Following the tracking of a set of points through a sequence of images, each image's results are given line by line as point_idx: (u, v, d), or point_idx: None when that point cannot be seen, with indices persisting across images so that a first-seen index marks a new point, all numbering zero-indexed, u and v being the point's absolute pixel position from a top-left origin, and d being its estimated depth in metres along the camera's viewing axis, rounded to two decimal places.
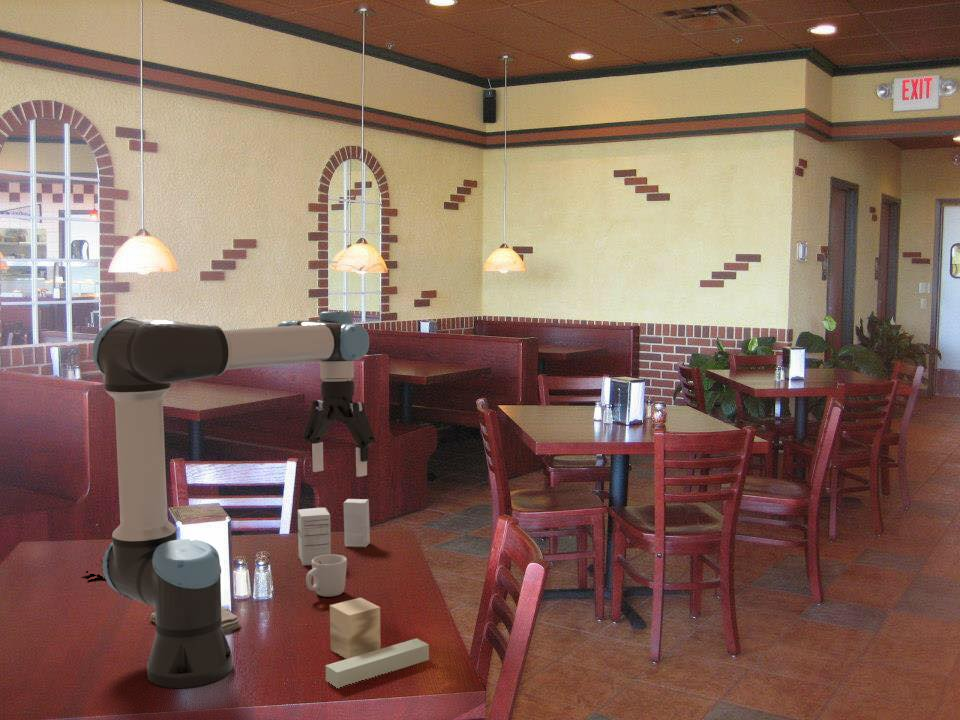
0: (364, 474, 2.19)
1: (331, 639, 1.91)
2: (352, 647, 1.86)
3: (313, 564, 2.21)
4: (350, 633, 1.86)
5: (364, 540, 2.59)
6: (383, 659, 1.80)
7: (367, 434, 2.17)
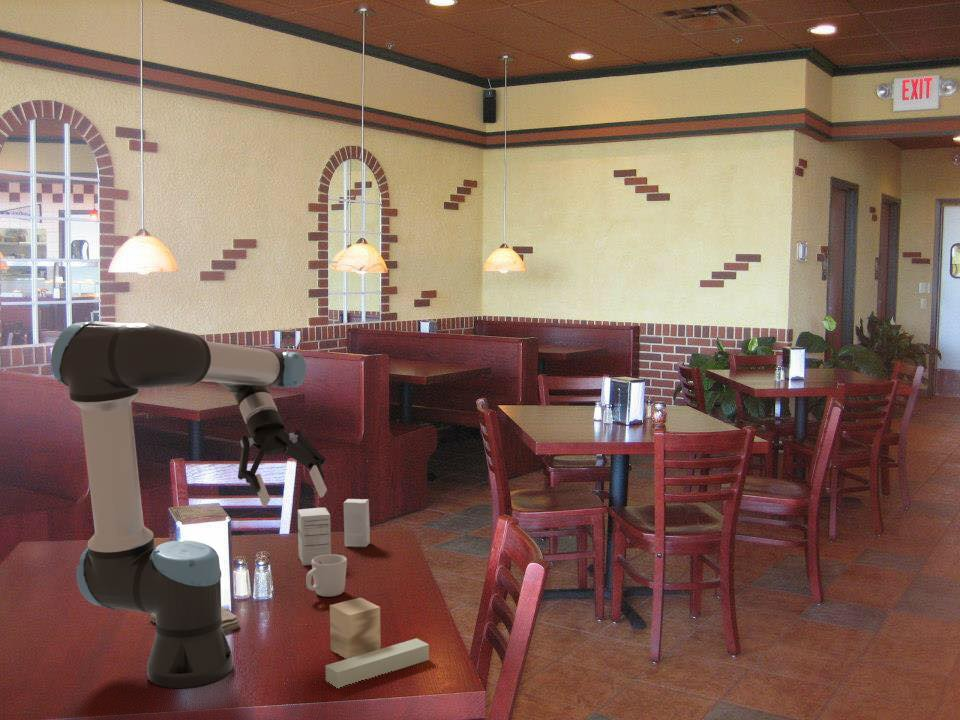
0: None
1: (331, 639, 1.91)
2: (352, 647, 1.86)
3: (313, 564, 2.21)
4: (350, 633, 1.86)
5: (364, 540, 2.59)
6: (383, 659, 1.80)
7: None
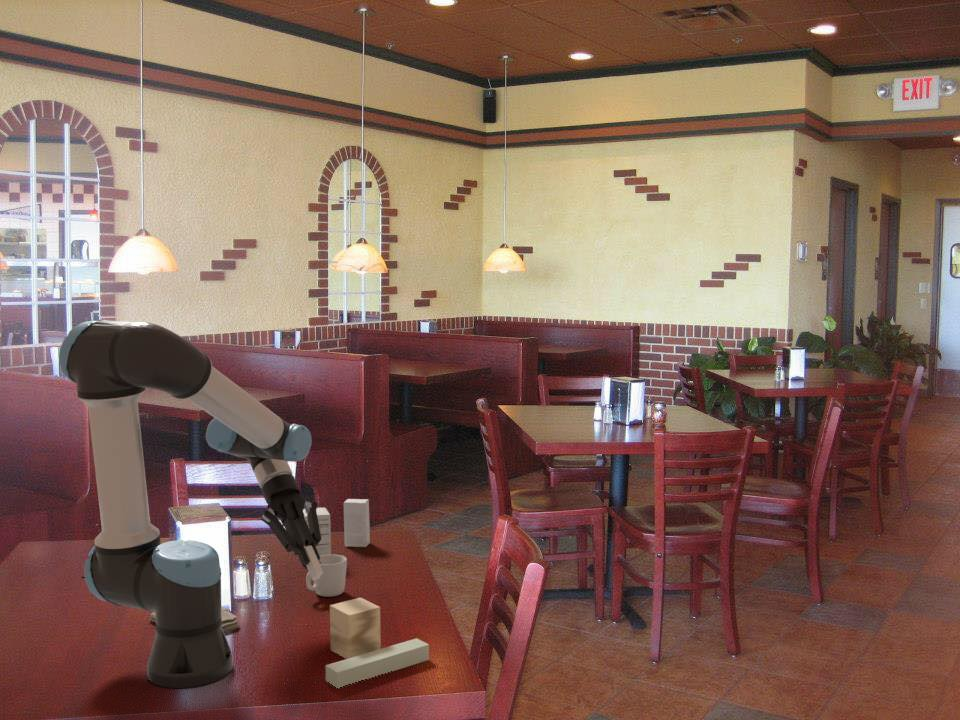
0: None
1: (331, 639, 1.91)
2: (352, 647, 1.86)
3: None
4: (350, 633, 1.86)
5: (364, 540, 2.59)
6: (383, 659, 1.80)
7: None
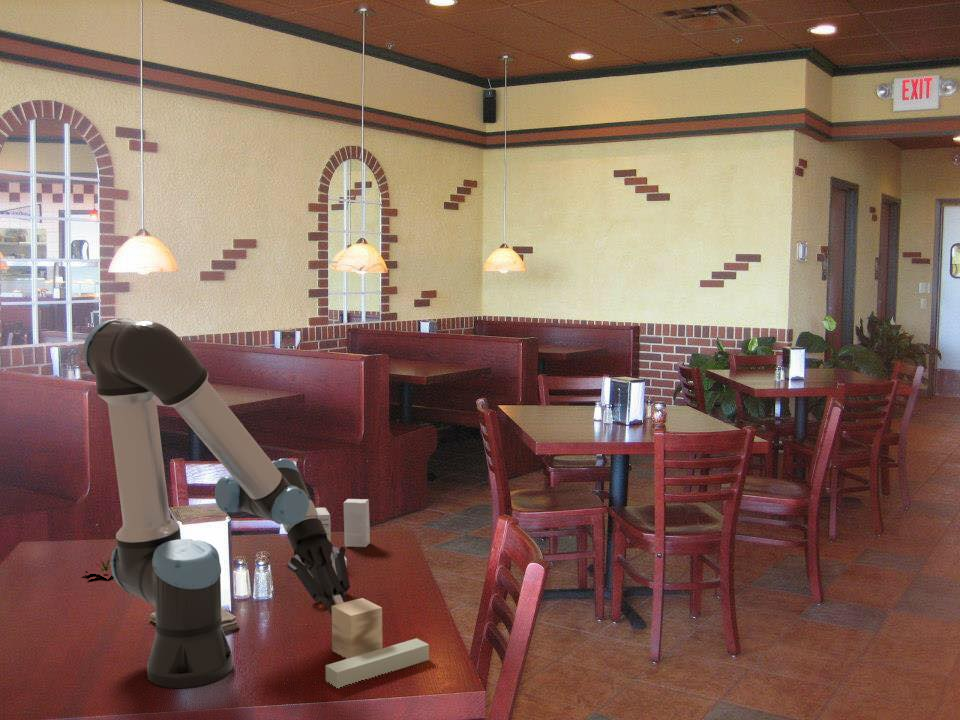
0: None
1: (333, 640, 1.91)
2: (354, 648, 1.86)
3: None
4: (352, 634, 1.85)
5: (364, 540, 2.59)
6: (383, 659, 1.80)
7: None
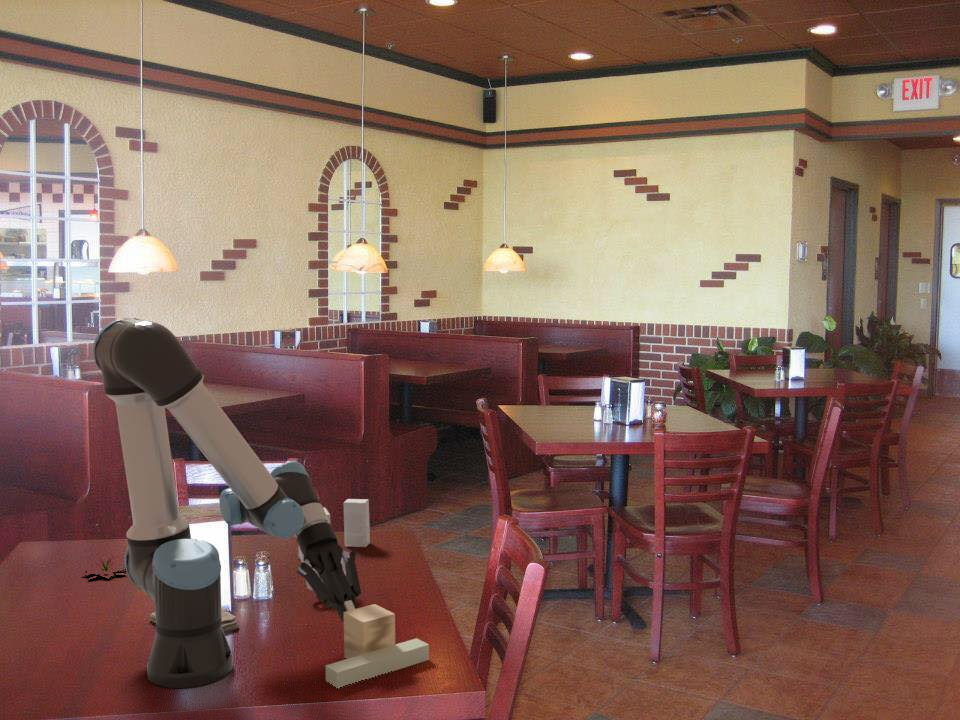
0: None
1: (345, 647, 1.87)
2: None
3: None
4: (365, 641, 1.82)
5: (364, 540, 2.59)
6: (383, 659, 1.80)
7: None
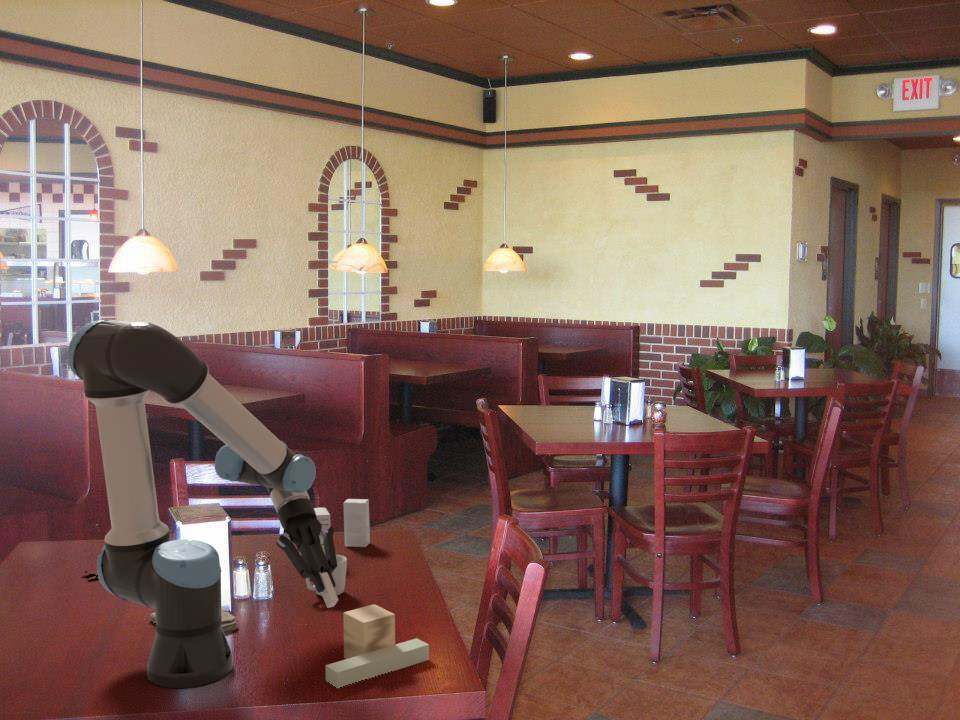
0: None
1: (345, 647, 1.87)
2: None
3: None
4: (365, 641, 1.82)
5: (364, 540, 2.59)
6: (383, 659, 1.80)
7: None
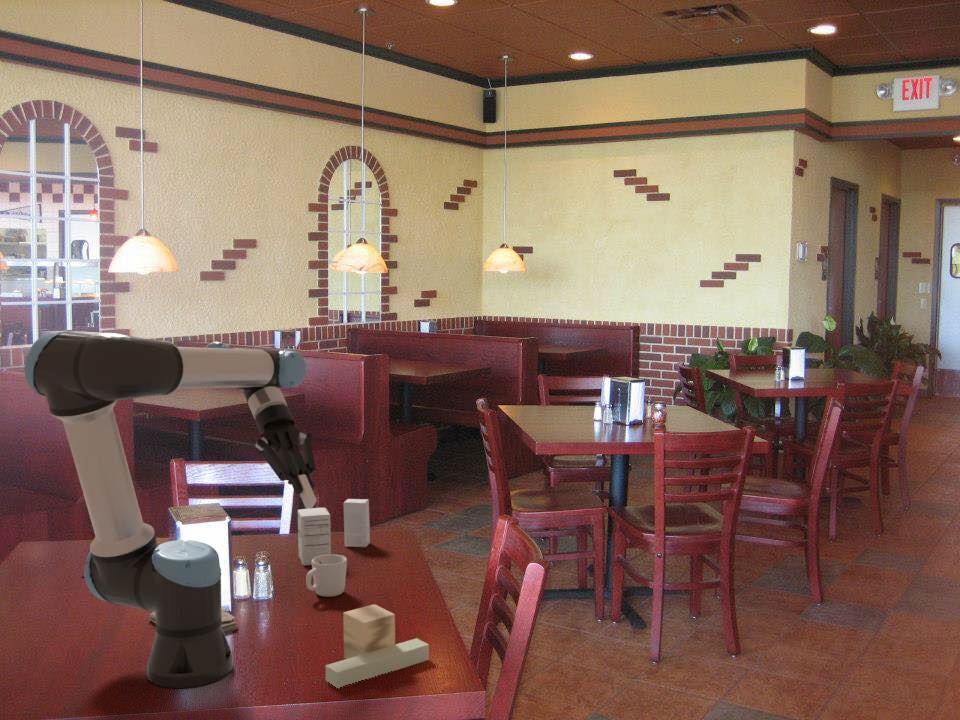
0: None
1: (345, 647, 1.87)
2: None
3: (313, 564, 2.21)
4: (365, 641, 1.82)
5: (364, 540, 2.59)
6: (383, 659, 1.80)
7: None
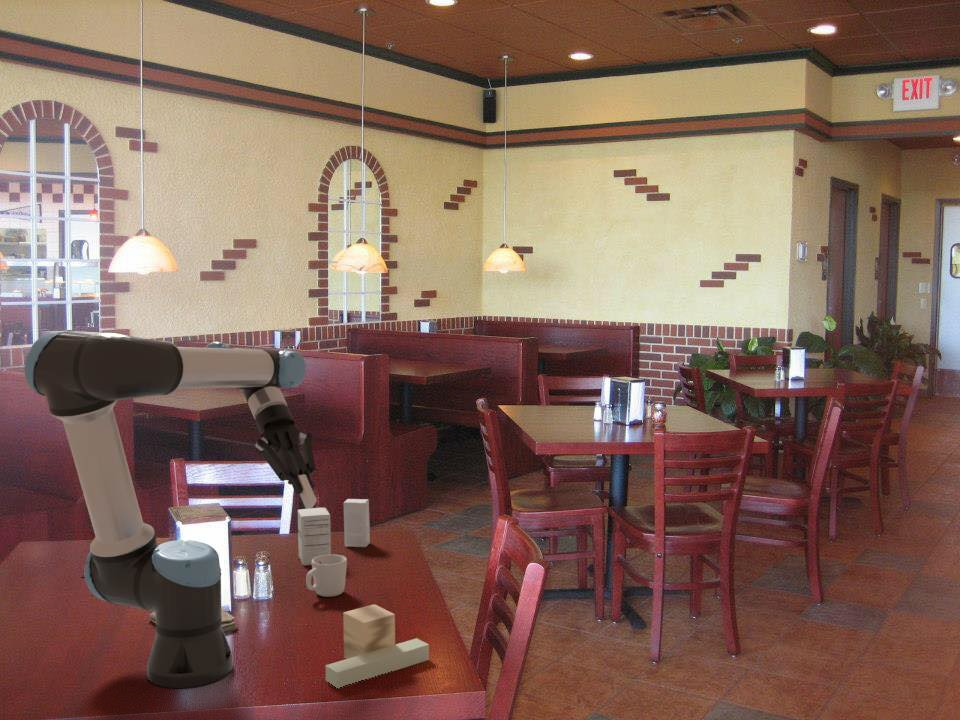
0: None
1: (345, 647, 1.87)
2: None
3: (313, 564, 2.21)
4: (365, 641, 1.82)
5: (364, 540, 2.59)
6: (383, 659, 1.80)
7: None
